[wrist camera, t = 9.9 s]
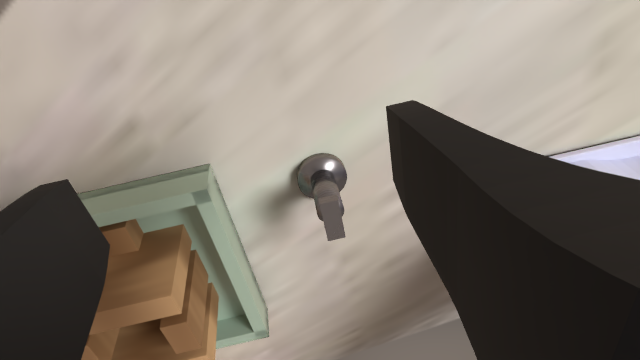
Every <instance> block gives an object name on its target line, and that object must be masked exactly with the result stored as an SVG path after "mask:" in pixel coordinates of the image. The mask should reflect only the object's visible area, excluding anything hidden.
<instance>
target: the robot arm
mask: <svg viewBox="0 0 640 360" xmlns="http://www.w3.org/2000/svg"><path fill="white" fill-rule="evenodd" d="M386 111H387V121H388V132H389V142H390V152H391V162H392V172H393V181H394V183H395V186H396V189H397V191H398V194H399V197H400V200H401V202H402V205H403V207H404V210H405V212H406V215H407V217H408V219H409V221H410V222H411V224H412V226H413V228H414V230H415V232H416V234H417V235H418V237H419V239H420V241H421V243H422V245H423V247H424V248H425V250H426V252H427V254H428V256H429V258H430V259H431V261H432V263H433V265H434V267H435V268H436V270H437V272H438V274H439V276H440V278H441V279H442V281H443V283H444V285H445V287H446V289H447V290H448V292H449V295H450V297H451V299H452V301H453V303H454V305H455V307H456V309H457V311H458V314H459V316H460V318H461V321H462V323H463V326H464V328H465V330H466V333H467V335H468V338H469V340H470V343H471V345H472V347H473V350H474V352H475V355H476V357H477V360H640V136H636V137H632V138H628V139H623V140H619V141H615V142H610V143H606V144H602V145H597V146H593V147H589V148H584V149H580V150H576V151H571V152H567V153H563V154H558V155H554V156H550V157H547V156H543V155H540V154H537V153H534V152H531V151H528V150H526V149H523V148H520V147H518V146H515V145H512V144H510V143H507V142H505V141H502V140H499V139H497V138H494V137H492V136H490V135H487V134H485V133H483V132H480V131H478V130H476V129H474V128H471V127H469V126H467V125H465V124H463V123H461V122H459V121H456V120H454V119H452V118H450V117H448V116H446V115H444V114H442V113H440V112H438V111H436V110H434V109H432V108H430V107H428V106H425V105H423V104H421V103H419V102H416V101H414V100H412V101H407V102H403V103H399V104H394V105H390V106H386ZM109 250H110V244H109V243H108V241H107V239H106V238H105V236H104V235H103V233H102V232H101V230H100V229H99V227H98V226H97V224H96V223H95V221H94V219H93V218H92V216H91V215H90V213H89V212H88V210H87V209H86V207H85V206H84V204H83V203H82V201H81V200H80V198H79V196H78V195H77V193H76V192H75V190H74V189H73V187H72V186H71V184H70V183H69V181H68V180H67V179H66V180H62V181H57V182H53V183H49V184H44V185H40V186H38V187H37V188H35V189H33V190H31V191H30V192H28V193H26V194H25V195H23V196H22V197H20V198H19V199H17V200H16V201H14V202H13V203H12V204H10V205H9V206H7V207H6V208H5V209H3V210H2V211H1V212H0V360H81V358H82V355H83V352H84V349H85V346H86V343H87V339H88V336H89V333H90V330H91V327H92V324H93V321H94V318H95V314H96V311H97V308H98V305H99V301H100V298H101V295H102V291H103V288H104V284H105V278H106V273H107V267H108V258H109Z"/></svg>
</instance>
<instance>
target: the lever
mask: <svg viewBox="0 0 640 360" xmlns="http://www.w3.org/2000/svg"><path fill="white" fill-rule="evenodd" d="M297 179H298V184H299V188H300V190H301V191H302V192H303V193H304V194H305V195H306V196H308V197H310V198H313V199H314V201H315V205H316V210H317V215H318V217H319V219H320V220H322V221H324V225H325V229H326V234H327V238H328V241H331V240H335V239H340V238H344V237H345V232H344V227H343V222H342V216H343V214H344V207H343V204H342V200H341V197H340V193H339V192H340V191H341V190H342V189H343V188H344V186H345V184H346V180H347V174H346V170H345V167H344V165H343V163H342V161H341V160H340V159H339V158H337V157H336V156H334V155H331V154H326V153H320V154H315V155H312V156H310V157H308V158H307V159H305V160H304V161H303V162H302V163H301V165H300V166H299V169H298V172H297Z"/></svg>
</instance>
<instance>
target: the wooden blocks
mask: <svg viewBox="0 0 640 360" xmlns="http://www.w3.org/2000/svg"><path fill="white" fill-rule="evenodd" d="M99 229H100V230H101V232H102V233H103V235H104V236H105V238H106V239H107V241H108V243H109V244H110V250H109V258H108V267H107V273H106V278H105V284H104V288H103V291H102V295H101V298H100V301H99V305H98V308H97V311H96V314H95V318H94V321H93V324H92V327H91V330H90V333H89V336H88V339H87V343H86V346H85V349H84V352H83V355H82V358H81V360H215V351H216V335H217V318H218V302H219V295H218V293H217V291H216V289H215V287H214V285H213V283H212V282H211V283H208V276H209V275H208V273H207V271H206V269H205V267H204V265H203V263H202V261H201V259H200V257H199V255H198V253H197V251H196V250H191V244H192V240H191V238H190V236H189V234H188V232H187V230H186V228H185V226H184V224H181V225H177V226H172V227H168V228H164V229H159V230H155V231H151V232H146V233H143V231H142V229H141V228H140V226H139V224H138V222H137V221H136V219H132V220H128V221H124V222H119V223H115V224H111V225H106V226H102V227H99Z"/></svg>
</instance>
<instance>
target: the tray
mask: <svg viewBox="0 0 640 360" xmlns="http://www.w3.org/2000/svg"><path fill="white" fill-rule="evenodd" d="M77 195H78V196H79V198H80V200H81V201H82V203H83V204H84V206H85V207H86V209H87V210H88V212H89V213H90V215H91V216H92V218H93V219H94V221H95V223H96V224H97V226H98V227H102V226H106V225H111V224H115V223H119V222H124V221H128V220H132V219H136V221H137V222H138V224H139V226H140V228H141V229H142V231H143V233H146V232H151V231H155V230H159V229H164V228H168V227H172V226H177V225H181V224H184V226H185V228H186V230H187V232H188V234H189V236H190V238H191V240H192V244H191V250H196V251H197V253H198V255H199V257H200V259H201V261H202V263H203V265H204V267H205V269H206V271H207V273H208V275H209V276H208V283H211V282H212V283H213V285H214V287H215V289H216V291H217V293H218V295H219V302H218V318H217V335H216V349H219V348H223V347H227V346H231V345H236V344H240V343H244V342H249V341H253V340H257V339H261V338H266V337H269V326H268V309H267V306H266V304H265V301H264V299H263V296H262V294H261V291H260V289H259V286H258V283H257V281H256V278H255V276H254V273H253V271H252V268H251V266H250V263H249V261H248V258H247V256H246V253H245V251H244V248H243V246H242V243H241V241H240V238H239V236H238V233H237V231H236V228H235V226H234V223H233V221H232V218H231V216H230V213H229V211H228V208H227V206H226V203H225V201H224V198H223V196H222V193H221V191H220V188H219V186H218V183H217V181H216V178H215V176H214V173H213V171H212V168H211V166H210V164H207V165H202V166H198V167H194V168H189V169H185V170H181V171H176V172H172V173H168V174H163V175H159V176H154V177H150V178H146V179H141V180H137V181H133V182H128V183H124V184H120V185H115V186H111V187H106V188H102V189H98V190H93V191H89V192H85V193H80V194H77Z"/></svg>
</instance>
